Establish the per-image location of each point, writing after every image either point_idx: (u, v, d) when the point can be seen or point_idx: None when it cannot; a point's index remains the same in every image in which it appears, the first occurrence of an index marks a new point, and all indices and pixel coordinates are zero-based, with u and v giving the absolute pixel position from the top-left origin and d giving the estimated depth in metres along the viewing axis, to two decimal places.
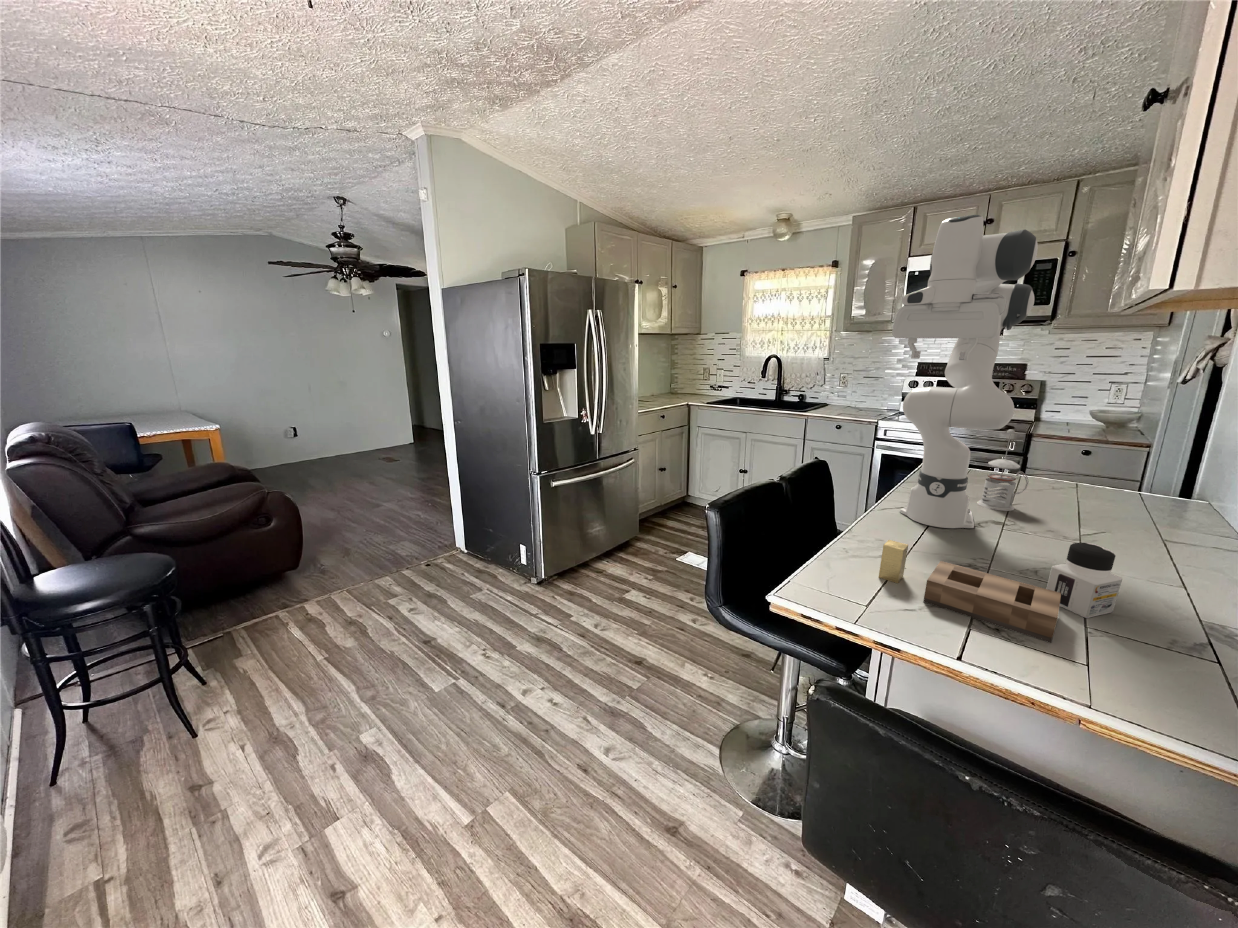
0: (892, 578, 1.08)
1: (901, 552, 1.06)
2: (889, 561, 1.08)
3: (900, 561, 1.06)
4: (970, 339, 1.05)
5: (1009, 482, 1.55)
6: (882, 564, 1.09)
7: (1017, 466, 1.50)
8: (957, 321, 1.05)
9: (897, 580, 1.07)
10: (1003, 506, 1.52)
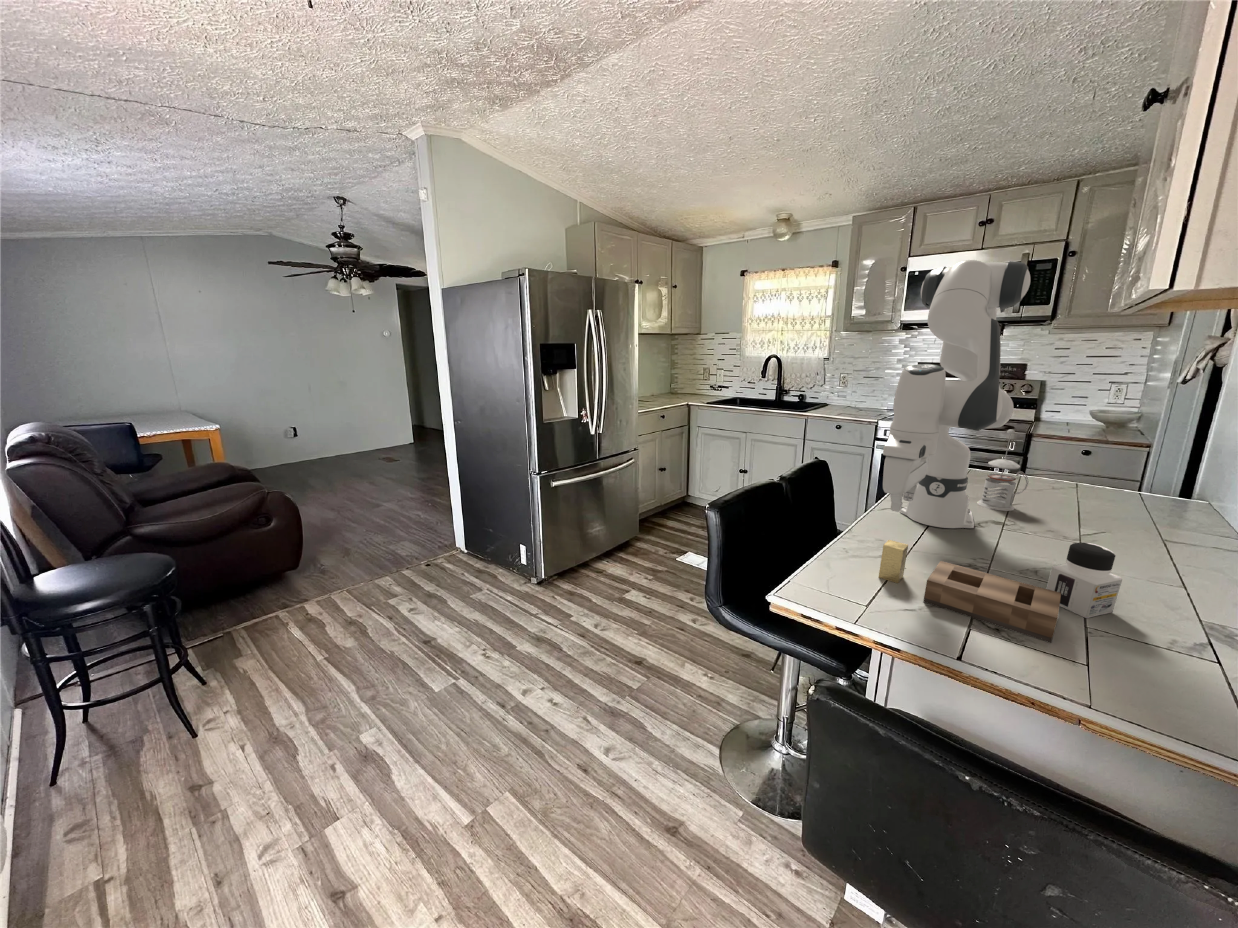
0: (892, 578, 1.08)
1: (901, 552, 1.06)
2: (889, 561, 1.08)
3: (900, 561, 1.06)
4: None
5: (1009, 482, 1.55)
6: (882, 564, 1.09)
7: (1017, 466, 1.50)
8: (920, 467, 1.04)
9: (897, 580, 1.07)
10: (1003, 506, 1.52)
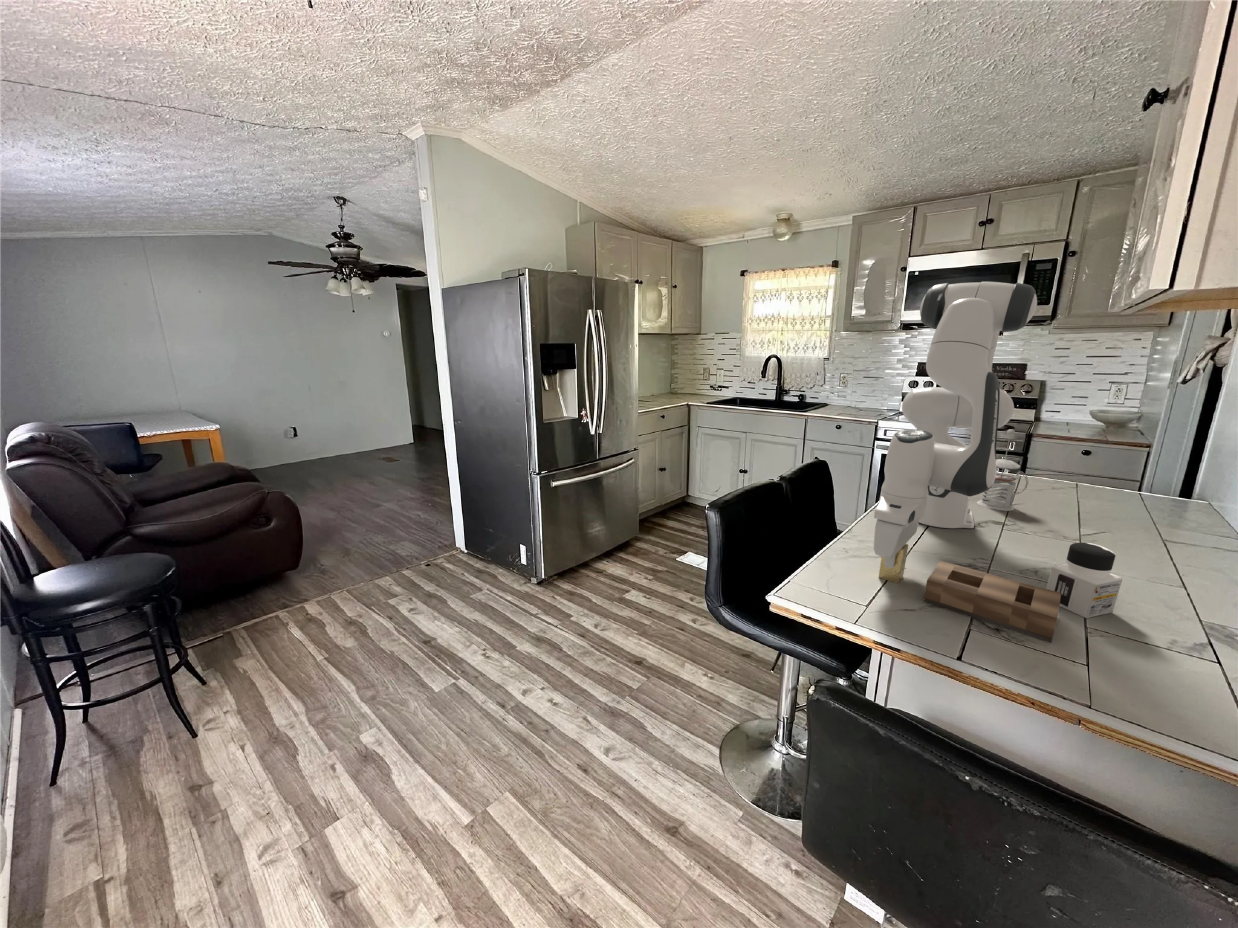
0: (892, 578, 1.08)
1: (901, 552, 1.06)
2: None
3: (900, 561, 1.06)
4: None
5: (1009, 482, 1.55)
6: (882, 564, 1.09)
7: (1017, 466, 1.50)
8: (910, 527, 1.08)
9: (897, 580, 1.07)
10: (1003, 506, 1.52)
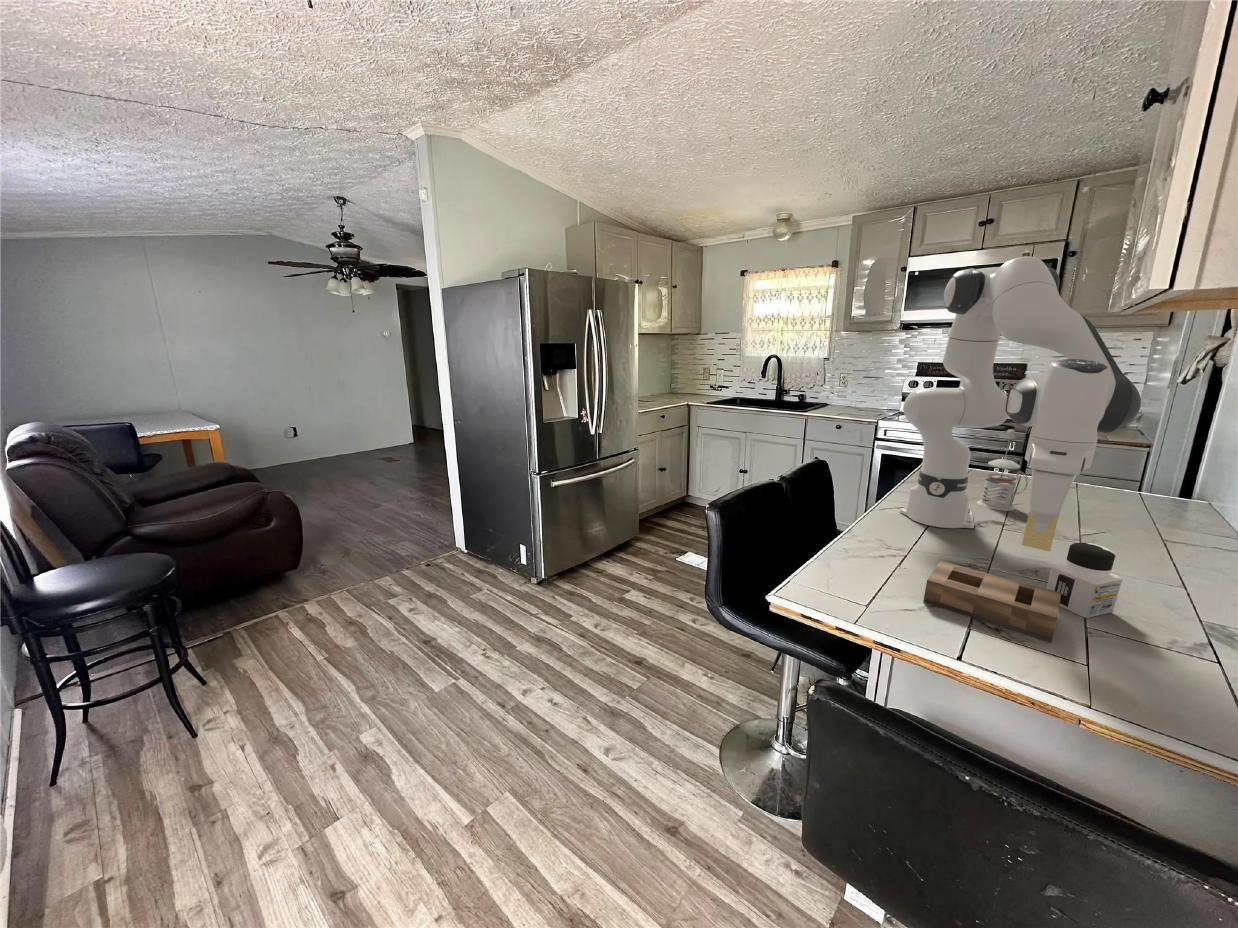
0: (1042, 545, 0.88)
1: None
2: None
3: (1055, 524, 0.86)
4: None
5: (1009, 482, 1.55)
6: (1028, 528, 0.89)
7: (1017, 466, 1.50)
8: None
9: (1049, 547, 0.87)
10: (1003, 506, 1.52)
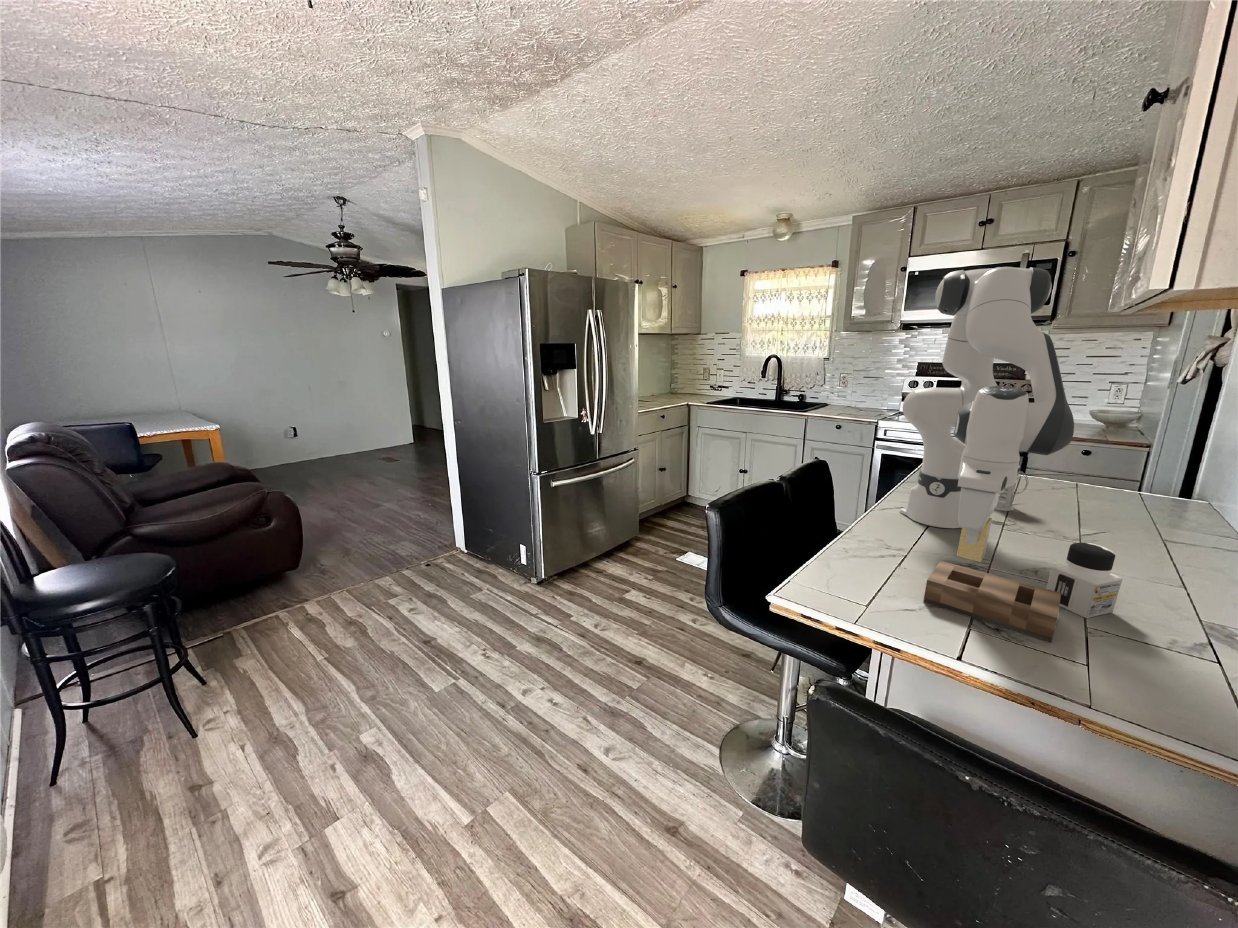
0: (974, 556, 0.95)
1: (986, 526, 0.93)
2: None
3: (984, 536, 0.93)
4: None
5: None
6: (962, 540, 0.96)
7: None
8: (994, 498, 0.95)
9: (980, 558, 0.95)
10: (1003, 506, 1.52)
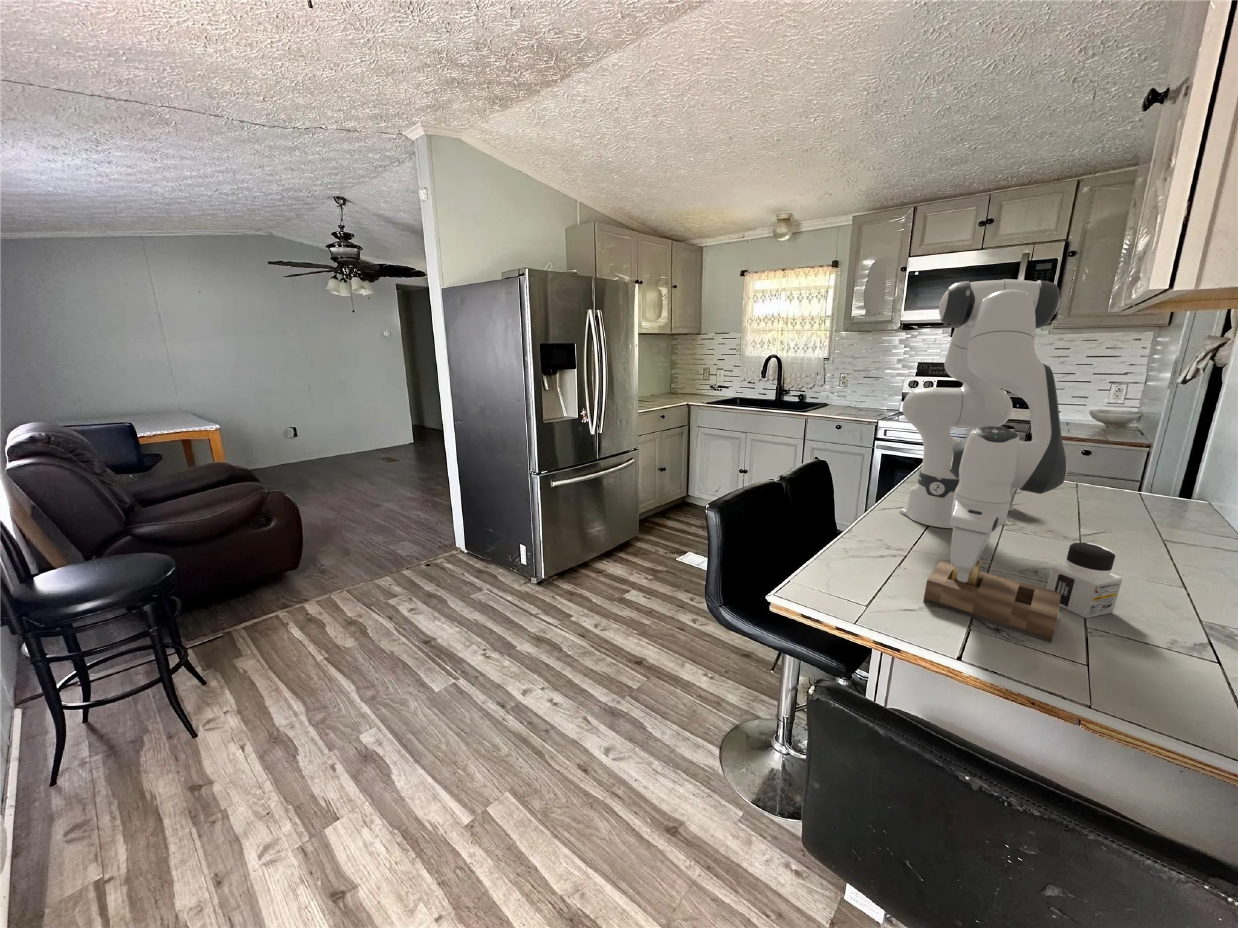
0: None
1: (976, 569, 0.96)
2: None
3: (975, 579, 0.96)
4: None
5: None
6: None
7: None
8: None
9: None
10: None
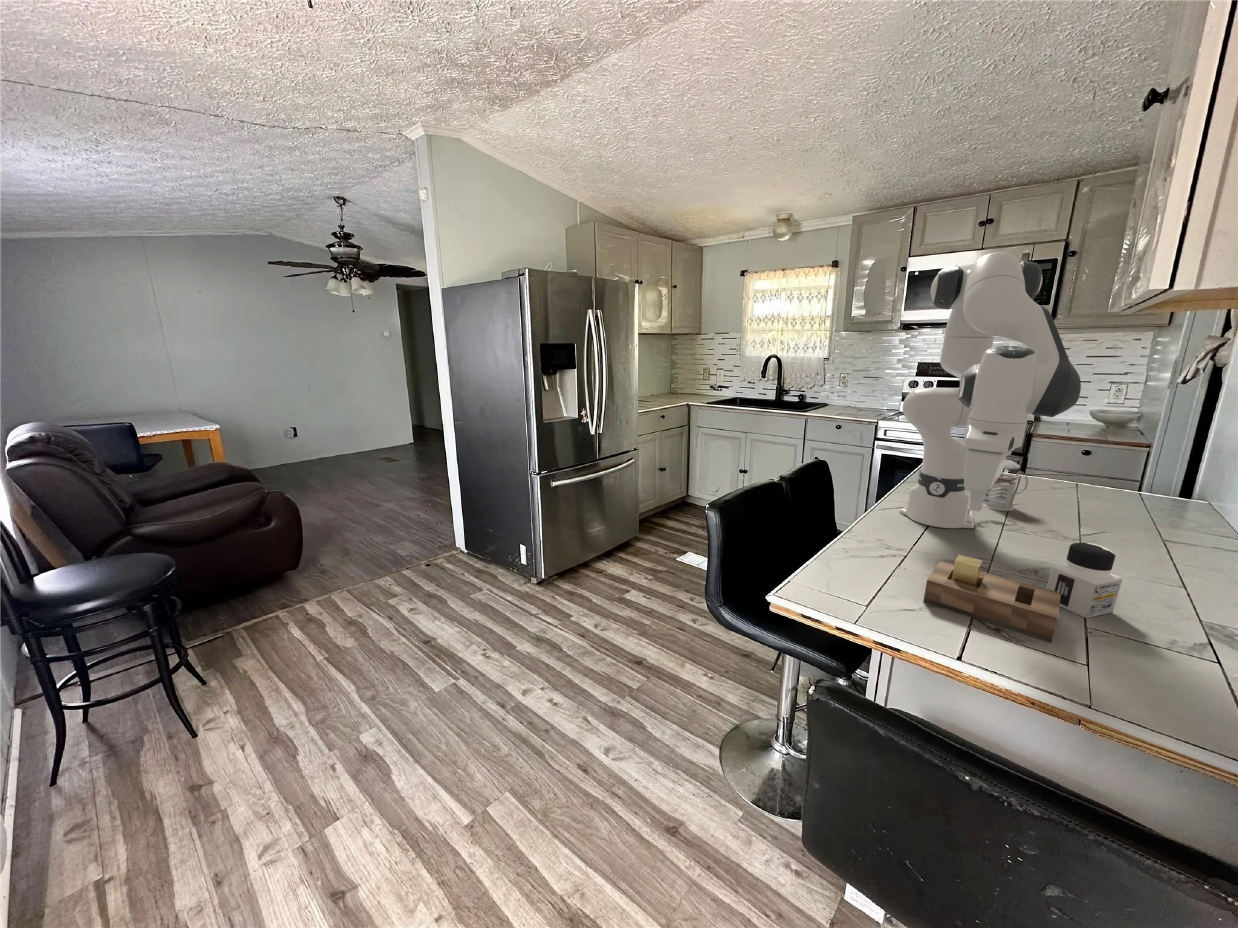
0: None
1: (976, 569, 0.96)
2: (962, 579, 0.98)
3: (975, 579, 0.96)
4: None
5: (1009, 482, 1.55)
6: None
7: (1017, 466, 1.50)
8: (1001, 462, 0.94)
9: None
10: (1003, 506, 1.52)
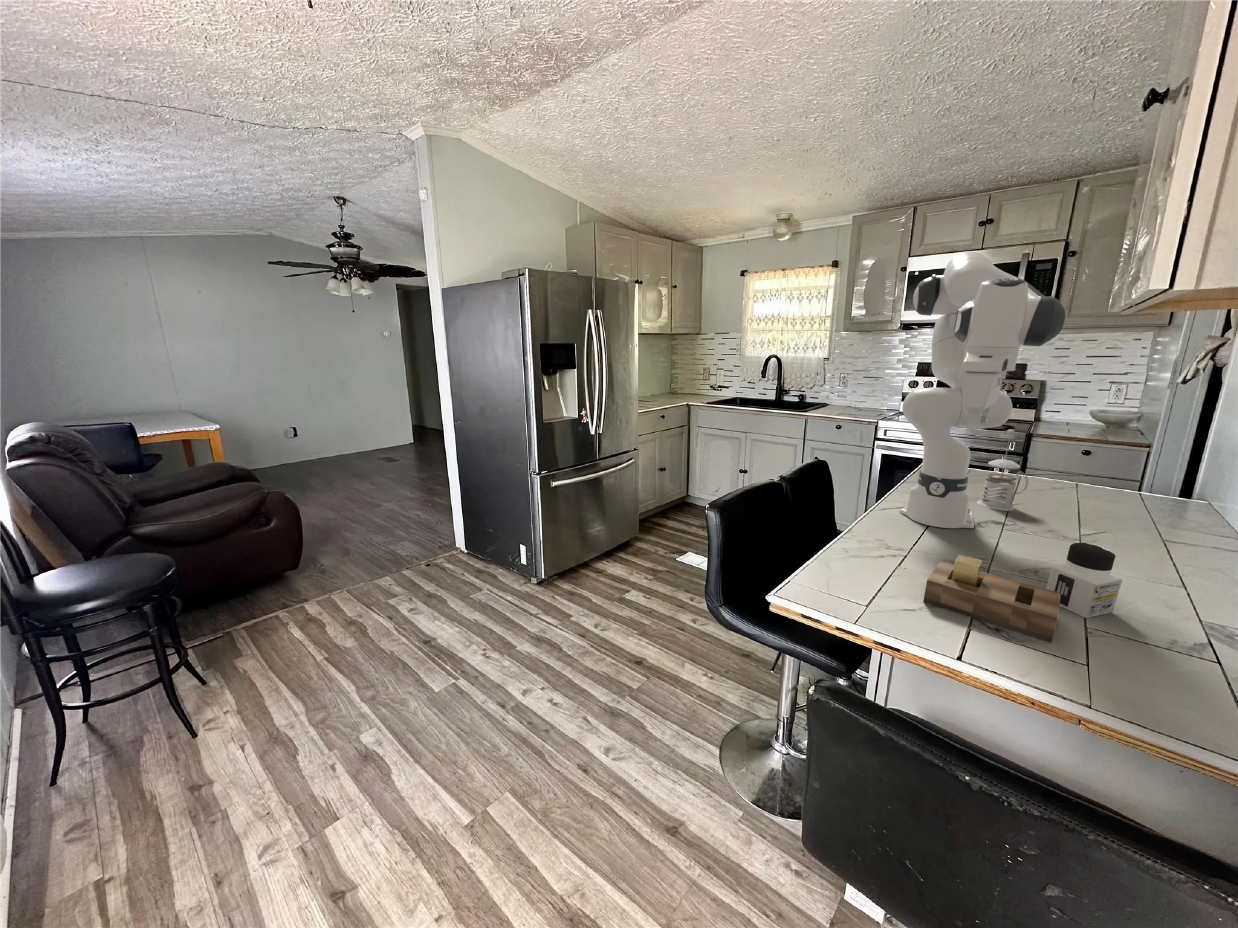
0: None
1: (976, 569, 0.96)
2: (962, 579, 0.98)
3: (975, 579, 0.96)
4: None
5: (1009, 482, 1.55)
6: None
7: (1017, 466, 1.50)
8: (996, 388, 1.02)
9: None
10: (1003, 506, 1.52)
